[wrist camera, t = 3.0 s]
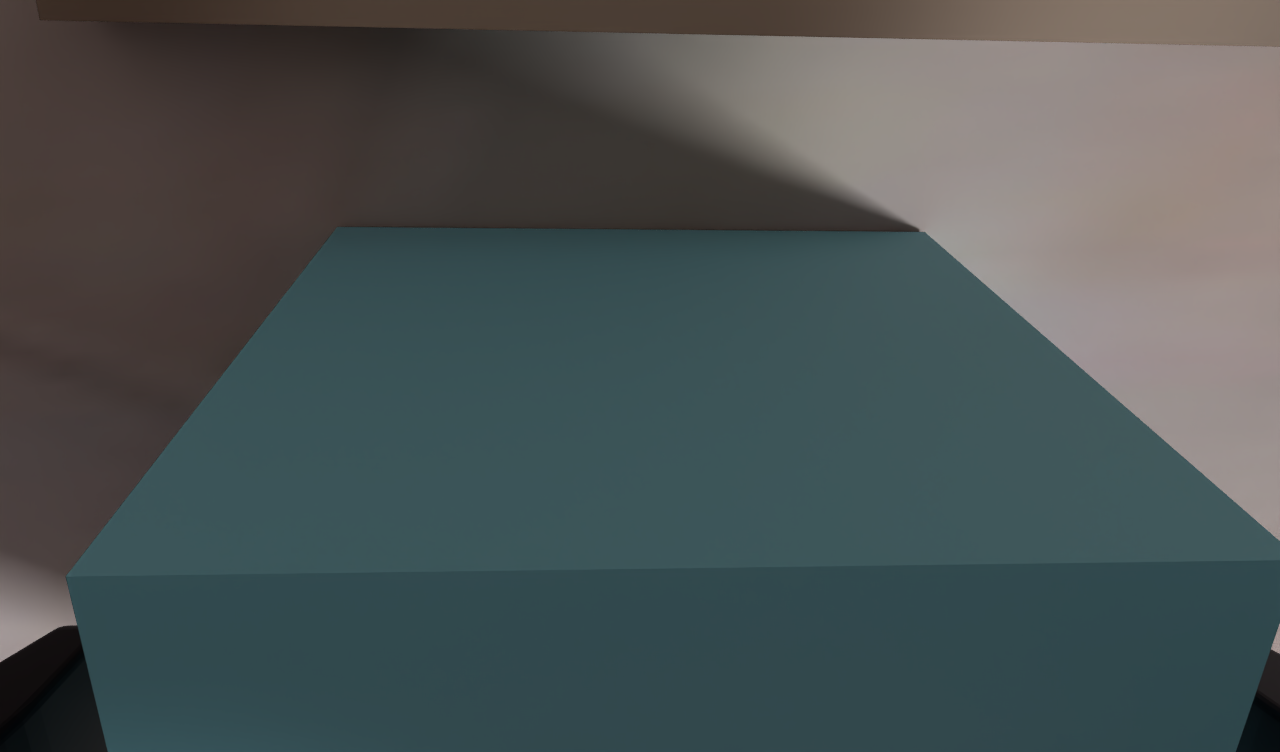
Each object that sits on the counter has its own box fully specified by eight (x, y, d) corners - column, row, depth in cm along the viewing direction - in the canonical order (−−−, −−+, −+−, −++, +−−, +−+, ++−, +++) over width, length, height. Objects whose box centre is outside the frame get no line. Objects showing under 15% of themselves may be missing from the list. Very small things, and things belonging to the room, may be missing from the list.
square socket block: (382, 699, 13) (237, 1292, 7) (337, 227, 10) (64, 576, 5) (859, 688, 13) (1068, 1242, 8) (923, 231, 11) (1300, 558, 5)
